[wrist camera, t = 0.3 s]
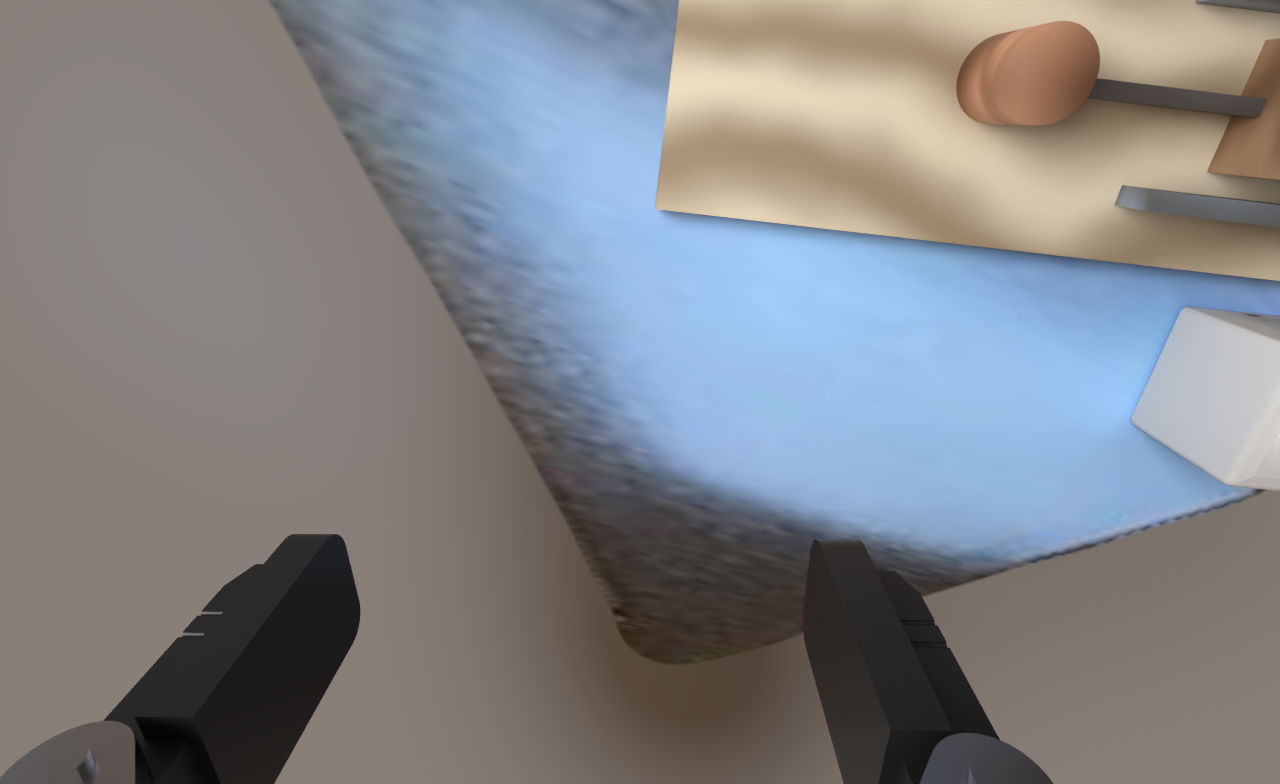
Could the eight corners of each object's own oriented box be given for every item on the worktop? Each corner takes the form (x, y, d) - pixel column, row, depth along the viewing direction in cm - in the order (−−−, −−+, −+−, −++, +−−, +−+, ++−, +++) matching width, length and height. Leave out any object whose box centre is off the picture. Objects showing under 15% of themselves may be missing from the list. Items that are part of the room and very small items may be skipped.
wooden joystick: (978, 3, 30) (1036, -16, 25) (1387, 55, 30) (1517, 45, 26) (939, 139, 32) (986, 144, 28) (1319, 185, 33) (1426, 197, 28)
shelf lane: (696, -156, 29) (703, -195, 25) (1456, -57, 30) (1569, -81, 26) (655, 205, 35) (655, 216, 32) (1280, 277, 36) (1350, 295, 33)
